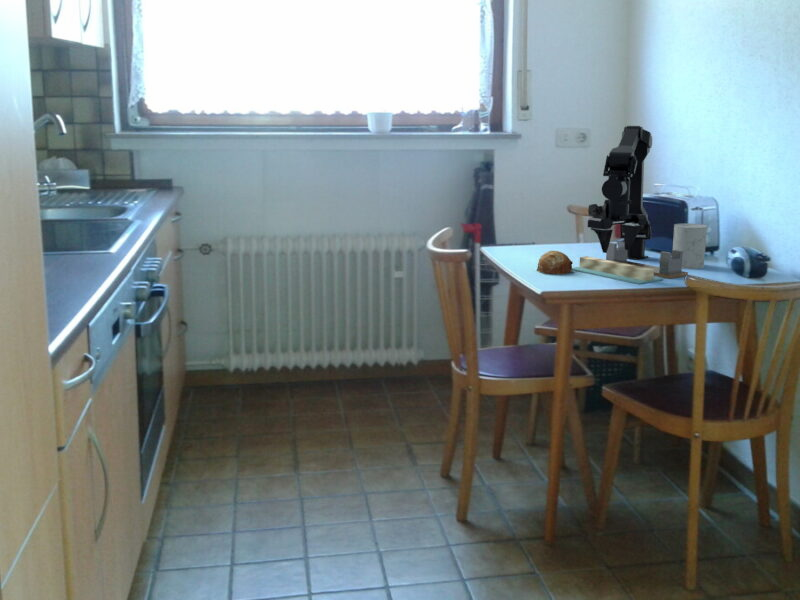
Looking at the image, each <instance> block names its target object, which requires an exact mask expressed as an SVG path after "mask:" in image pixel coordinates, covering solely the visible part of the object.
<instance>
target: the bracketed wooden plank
mask: <svg viewBox="0 0 800 600" xmlns="http://www.w3.org/2000/svg"><path fill="white" fill-rule="evenodd" d="M617 242H618V243H616V242H610V243H609V247H608V250H607V253H605V255H606V256H605V260H609V261H614V262H619V263H624V264H630V265H635V266H640V267H645V268H650V269H654V276H653V277H657V278H662V279H668V280H671V279H672V280H673V279H676V278H677V279H678V278H682V277H687V276H686V275H689V272H688V271H683V268H682V258H683V251H679V250H673V249H672V250H671V252H669V251H660V257H659V259H660V260H659V266H656V265H652V264H645V263H641V262H635V261H630V260H629V261H628V258H627V254H628V250H625V240H618V241H617Z"/></svg>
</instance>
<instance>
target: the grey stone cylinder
mask: <svg viewBox="0 0 800 600" xmlns="http://www.w3.org/2000/svg"><path fill="white" fill-rule="evenodd" d="M707 232H708V225H706V224H699V223H688V222H687V223H686V222H685V223H675V224H673V240H672V250H679V251H683V258H682V269H685V270H686V269H687V270H698V269H704V268H705V260H706V259H705V257H706V246H707V245H706V243H707Z"/></svg>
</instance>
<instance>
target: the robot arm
mask: <svg viewBox="0 0 800 600" xmlns="http://www.w3.org/2000/svg"><path fill="white" fill-rule="evenodd" d="M652 146H653V136H652V133H651V132H650V131H648V130H646V129H644V128H643V126H640V125H627V126H624V128H623V131H622V133H621V139H620V142H619V144H618V146H617V147H614V148H612V149H611V150H610V151H609V153H608V154H607V155H606V157H605V158H606V159H605V164H604V168H603V174H602V175H603V176H602V177H608V179H607V180H605V181H604V182H603V184H602V186H601V193H602V195H603V197H605V200H604V203H603V205H598V204H597V203H593V204H589V205H588V208H587V210H588V211H587V212H588V213H587V214H588V216H589V219H588V220H587V228H590V230H591V231H593V232H594V233H595V234H596V235H597V237H598V238H597V239H598V241H599V244H600V248H601V251H602V253H603V254H606V253H607V250H608V247H609V243H611V238H612V234H613V231H614V229H612V227H613V226H614V225H620V227H619V230H620V239H624V242H625V250H628V254H627V259H630V260H639V259H645V258H646V259H647V258H649V255H645V251H646V241H649V240H652V226H651V224H650V220H649V219H648V216H649V215H648V212H647V211H646V208H645V207H644V205H643V204H644V203H643V201H644V200H643V199H644V179H645V178H644V174H645V171H644V170H645V160H646V159H647V156H648V155H649V153H650V152H651V149H652Z"/></svg>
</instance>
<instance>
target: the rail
mask: <svg viewBox="0 0 800 600" xmlns="http://www.w3.org/2000/svg"><path fill="white" fill-rule="evenodd" d="M579 267H581V268H586V269H590V270H595V271H600V272H605V273H610V274H615V275H619V276H624V277H629V278H634V279H639V280H643V281H649V280H653V277H655V276H654V269H650V268H645V267H640V266H635V265H630V264H624V263H619V262H614V261H609V260H606V259H604V258H598V257H593V256H588V255H587V256H580V257H579Z"/></svg>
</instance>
